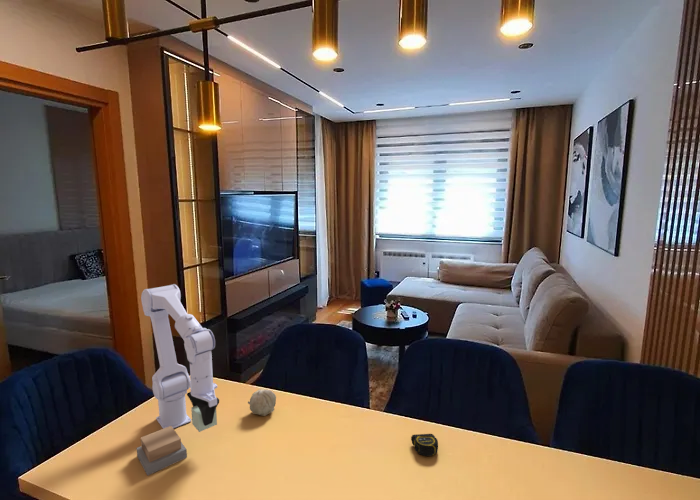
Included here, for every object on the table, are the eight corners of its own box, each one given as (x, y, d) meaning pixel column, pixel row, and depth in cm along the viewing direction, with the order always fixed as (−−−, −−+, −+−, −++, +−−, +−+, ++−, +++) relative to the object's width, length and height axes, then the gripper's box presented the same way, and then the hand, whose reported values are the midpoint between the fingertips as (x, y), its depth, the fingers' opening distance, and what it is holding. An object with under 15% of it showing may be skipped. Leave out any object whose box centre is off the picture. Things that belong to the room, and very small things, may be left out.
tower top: (141, 447, 103) (140, 437, 103) (171, 435, 108) (171, 425, 108) (149, 462, 97) (148, 452, 97) (181, 448, 103) (180, 438, 102)
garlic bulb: (275, 417, 126) (284, 392, 124) (260, 426, 118) (269, 400, 117) (256, 402, 129) (264, 378, 128) (240, 410, 122) (249, 385, 121)
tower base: (137, 457, 103) (136, 448, 103) (174, 441, 110) (174, 432, 110) (147, 477, 96) (146, 467, 96) (187, 459, 103) (186, 449, 102)
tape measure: (433, 442, 109) (434, 431, 109) (441, 458, 102) (441, 446, 102) (410, 443, 109) (411, 432, 108) (416, 460, 102) (417, 447, 101)
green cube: (192, 424, 105) (191, 407, 104) (209, 416, 108) (208, 400, 108) (199, 432, 101) (198, 415, 101) (216, 424, 105) (216, 408, 104)
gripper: (227, 378, 100) (229, 425, 102) (205, 361, 110) (207, 403, 112) (200, 387, 95) (203, 436, 97) (180, 368, 106) (183, 412, 108)
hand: (204, 419), depth 104 cm, fingers closed on green cube, 5 cm apart
